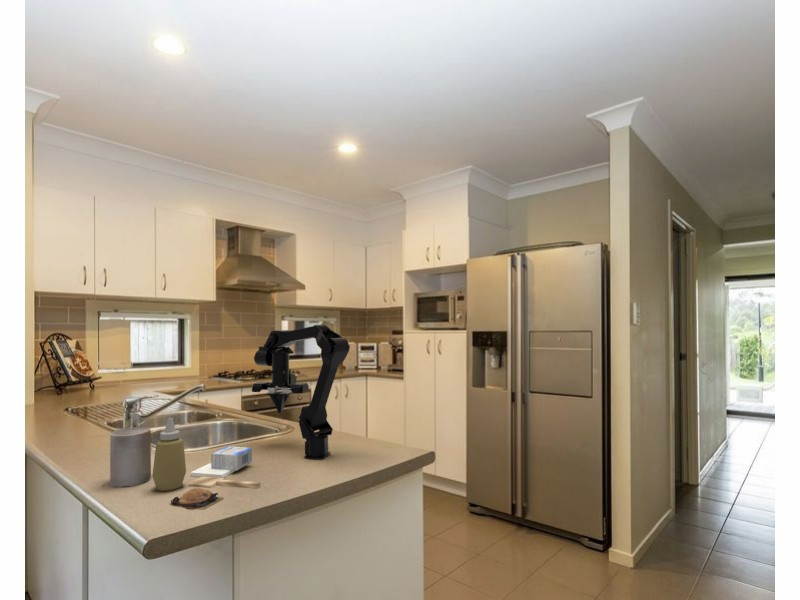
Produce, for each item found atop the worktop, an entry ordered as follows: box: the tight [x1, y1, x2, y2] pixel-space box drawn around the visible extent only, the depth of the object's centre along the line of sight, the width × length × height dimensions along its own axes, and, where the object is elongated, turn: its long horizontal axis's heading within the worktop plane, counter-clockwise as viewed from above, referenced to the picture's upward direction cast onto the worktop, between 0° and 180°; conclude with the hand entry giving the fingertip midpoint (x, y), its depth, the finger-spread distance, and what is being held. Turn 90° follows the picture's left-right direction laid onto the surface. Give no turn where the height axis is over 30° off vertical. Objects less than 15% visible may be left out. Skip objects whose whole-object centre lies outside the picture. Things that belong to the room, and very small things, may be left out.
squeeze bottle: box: [151, 417, 187, 492], centre depth 123 cm, size 8×8×18 cm
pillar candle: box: [109, 425, 152, 488], centre depth 128 cm, size 10×10×15 cm
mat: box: [190, 457, 254, 478], centre depth 139 cm, size 10×16×1 cm, turn 167°
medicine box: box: [210, 445, 253, 471], centre depth 138 cm, size 8×4×9 cm
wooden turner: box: [187, 477, 261, 489], centre depth 125 cm, size 19×6×1 cm, turn 77°
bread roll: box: [169, 487, 224, 511], centre depth 113 cm, size 11×8×4 cm
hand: (280, 413), depth 160 cm, fingers closed
